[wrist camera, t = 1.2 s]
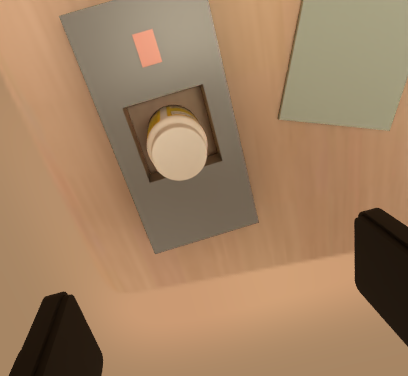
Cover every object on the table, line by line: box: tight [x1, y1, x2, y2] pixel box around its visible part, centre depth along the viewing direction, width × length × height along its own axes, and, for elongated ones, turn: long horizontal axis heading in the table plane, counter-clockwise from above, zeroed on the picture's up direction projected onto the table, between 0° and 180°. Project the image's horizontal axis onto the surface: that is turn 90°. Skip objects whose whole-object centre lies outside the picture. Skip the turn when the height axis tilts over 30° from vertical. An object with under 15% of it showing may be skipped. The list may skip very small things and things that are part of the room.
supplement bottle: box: [147, 105, 207, 181], centre depth 26 cm, size 5×5×8 cm
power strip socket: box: [59, 0, 259, 254], centre depth 29 cm, size 22×11×3 cm, turn 15°
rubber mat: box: [278, 0, 408, 131], centre depth 30 cm, size 12×12×1 cm
